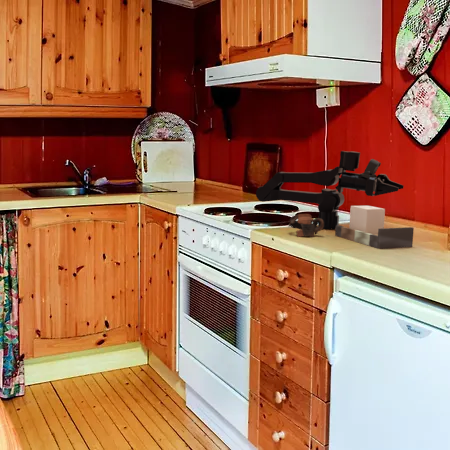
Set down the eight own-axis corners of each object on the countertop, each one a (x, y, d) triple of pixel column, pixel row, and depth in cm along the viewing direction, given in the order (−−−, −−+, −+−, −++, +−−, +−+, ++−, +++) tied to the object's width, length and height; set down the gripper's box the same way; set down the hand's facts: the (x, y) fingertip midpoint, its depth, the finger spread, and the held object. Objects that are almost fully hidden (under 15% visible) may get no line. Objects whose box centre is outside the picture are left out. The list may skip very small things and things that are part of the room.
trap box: (335, 235, 211) (336, 217, 210) (365, 234, 216) (366, 216, 215) (379, 248, 189) (380, 229, 189) (412, 246, 194) (413, 227, 193)
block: (349, 229, 208) (350, 205, 207) (366, 229, 211) (368, 205, 210) (365, 234, 200) (367, 209, 199) (383, 233, 203) (385, 208, 202)
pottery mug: (288, 238, 206) (285, 215, 209) (294, 246, 215) (290, 224, 218) (324, 231, 203) (320, 208, 206) (328, 240, 212) (325, 217, 215)
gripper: (352, 160, 210) (399, 166, 204) (365, 157, 227) (409, 163, 221) (348, 192, 213) (394, 199, 206) (361, 187, 229) (404, 194, 223)
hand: (400, 188), depth 214 cm, fingers open, 9 cm apart
